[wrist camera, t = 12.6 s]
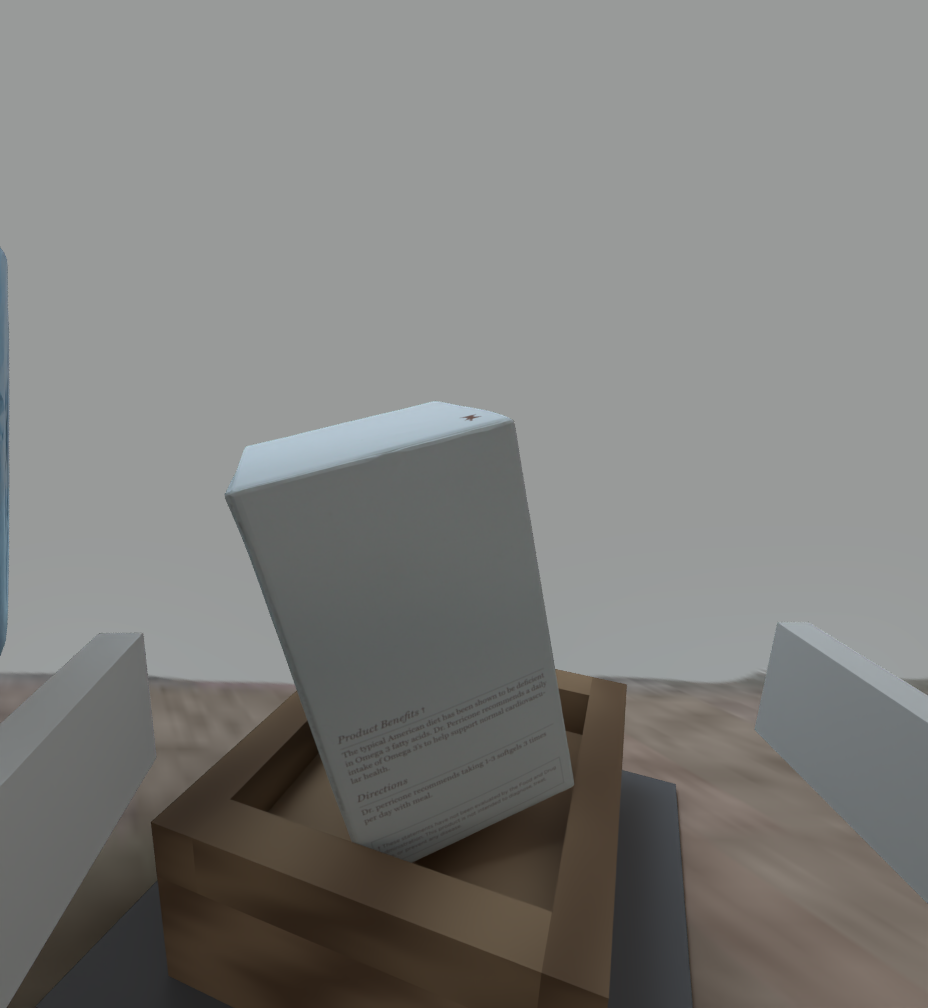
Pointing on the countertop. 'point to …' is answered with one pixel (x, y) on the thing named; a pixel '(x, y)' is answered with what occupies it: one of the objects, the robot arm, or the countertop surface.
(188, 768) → the countertop surface
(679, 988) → the mat
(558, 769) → the supplement box
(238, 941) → the tray
